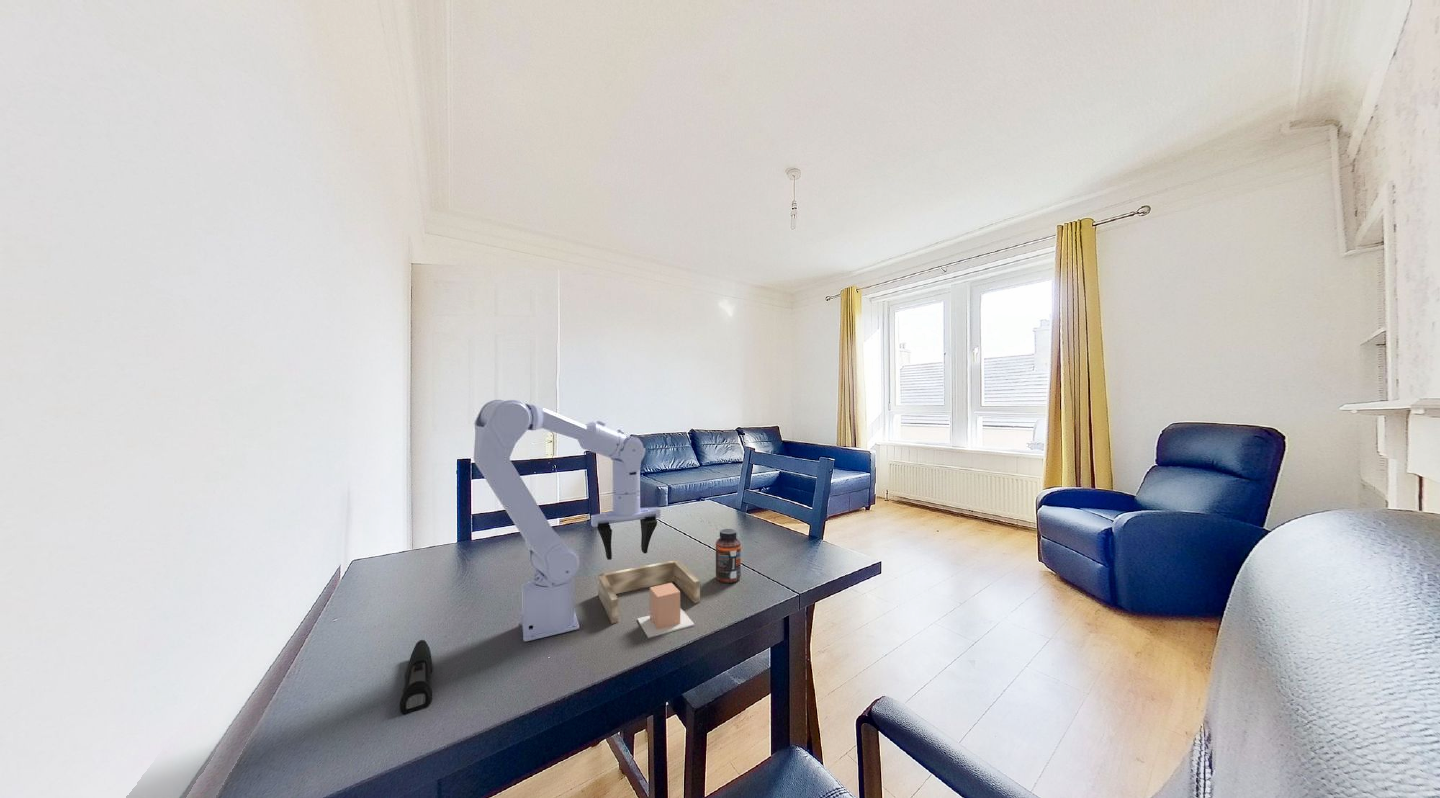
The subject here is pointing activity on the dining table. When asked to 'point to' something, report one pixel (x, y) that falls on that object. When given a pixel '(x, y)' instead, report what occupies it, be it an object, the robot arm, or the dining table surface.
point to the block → (664, 605)
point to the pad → (653, 631)
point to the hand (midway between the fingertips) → (626, 555)
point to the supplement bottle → (728, 556)
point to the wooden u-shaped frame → (644, 583)
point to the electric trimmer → (417, 680)
